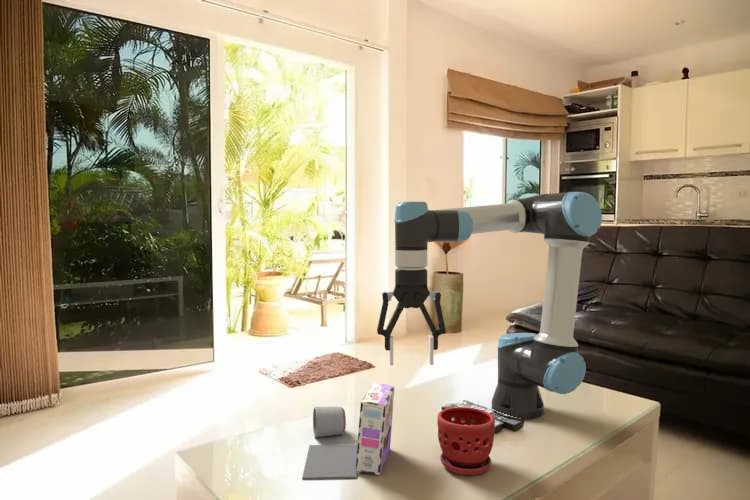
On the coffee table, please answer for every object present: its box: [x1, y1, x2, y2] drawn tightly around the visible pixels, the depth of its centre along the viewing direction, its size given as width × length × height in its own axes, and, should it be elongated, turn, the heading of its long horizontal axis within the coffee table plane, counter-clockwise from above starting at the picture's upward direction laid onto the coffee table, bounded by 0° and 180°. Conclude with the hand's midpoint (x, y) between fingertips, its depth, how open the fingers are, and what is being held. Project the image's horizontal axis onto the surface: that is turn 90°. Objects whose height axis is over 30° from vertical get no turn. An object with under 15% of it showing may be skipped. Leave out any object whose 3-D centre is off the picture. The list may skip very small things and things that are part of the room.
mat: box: [301, 443, 358, 480], centre depth 119 cm, size 12×16×1 cm
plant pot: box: [437, 406, 496, 476], centre depth 117 cm, size 13×13×12 cm
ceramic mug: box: [312, 405, 347, 438], centre depth 135 cm, size 11×8×8 cm
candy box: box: [356, 382, 395, 476], centre depth 119 cm, size 14×6×16 cm, turn 168°
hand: (411, 363), depth 118 cm, fingers open, 9 cm apart
